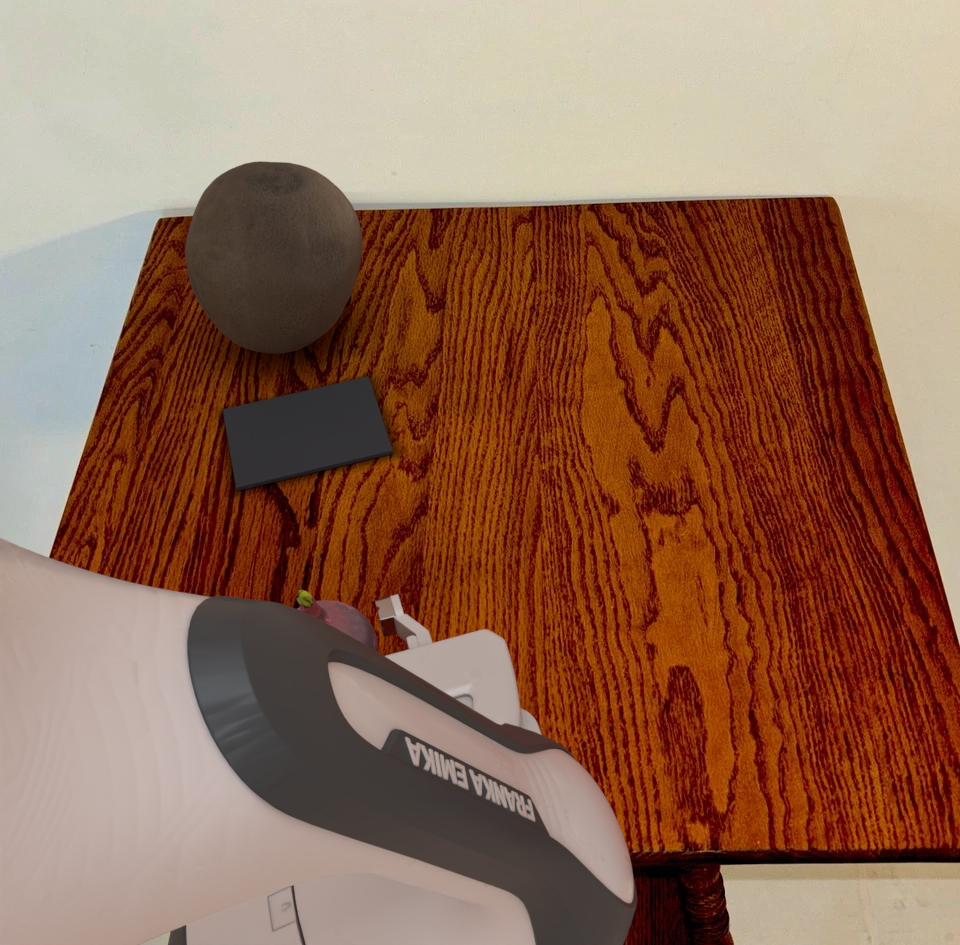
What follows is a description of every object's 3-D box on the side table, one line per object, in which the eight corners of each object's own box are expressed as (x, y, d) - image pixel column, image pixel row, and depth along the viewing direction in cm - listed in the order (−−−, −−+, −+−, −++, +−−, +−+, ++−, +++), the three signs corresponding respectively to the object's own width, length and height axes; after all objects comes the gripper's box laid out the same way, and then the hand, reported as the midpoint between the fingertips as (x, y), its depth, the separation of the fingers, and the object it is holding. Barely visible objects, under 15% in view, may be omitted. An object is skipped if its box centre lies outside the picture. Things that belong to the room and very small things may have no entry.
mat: (237, 491, 77) (235, 487, 77) (223, 412, 83) (222, 409, 83) (393, 453, 79) (392, 450, 79) (369, 379, 85) (368, 376, 85)
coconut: (350, 391, 84) (320, 234, 73) (187, 378, 86) (134, 224, 75) (390, 286, 94) (368, 133, 83) (242, 277, 96) (202, 127, 85)
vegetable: (274, 663, 67) (241, 567, 59) (364, 627, 68) (342, 530, 61) (303, 740, 63) (270, 647, 56) (397, 701, 64) (378, 606, 57)
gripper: (558, 747, 52) (481, 544, 61) (148, 866, 49) (132, 634, 58) (557, 803, 57) (486, 607, 66) (183, 916, 54) (163, 693, 63)
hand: (318, 620), depth 62 cm, fingers open, 7 cm apart
